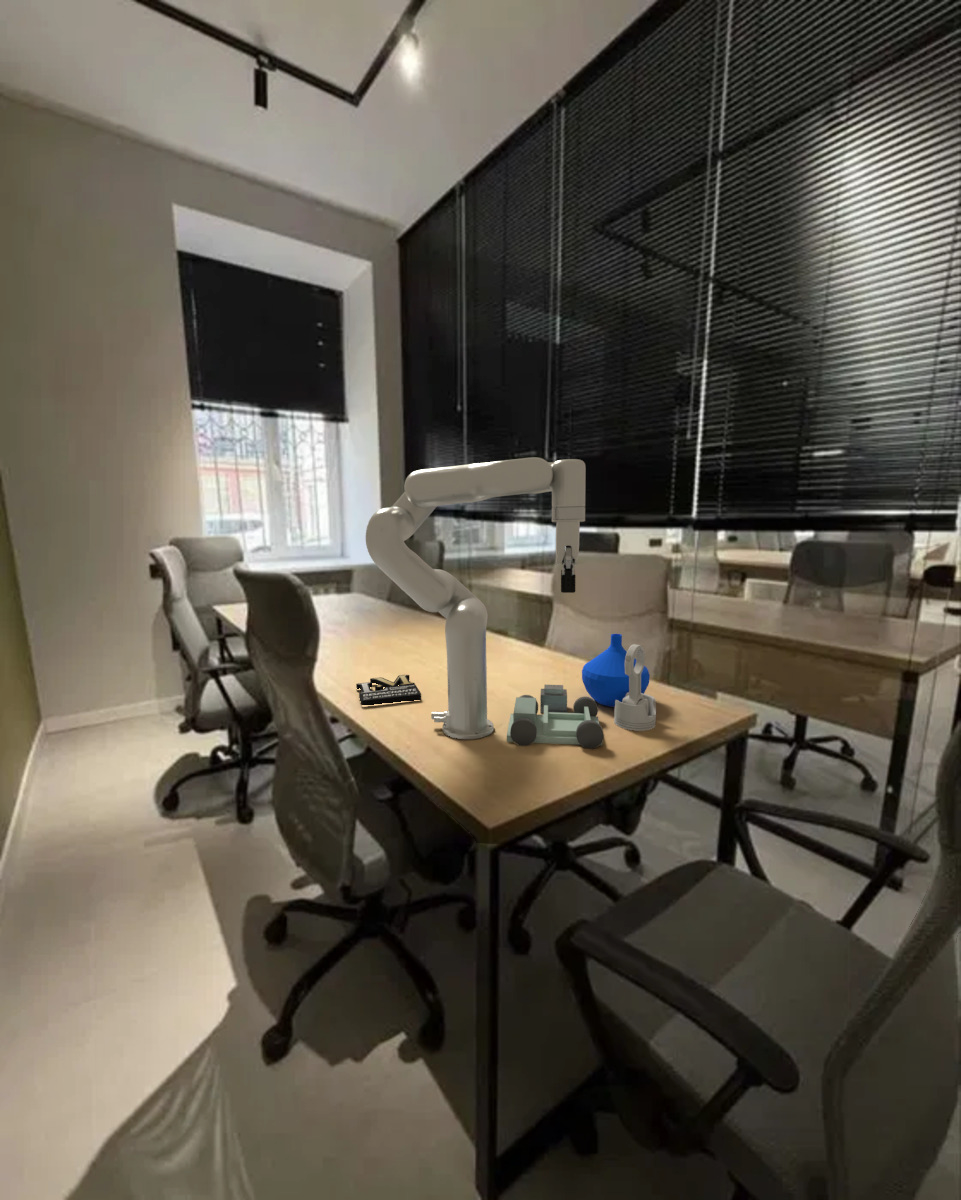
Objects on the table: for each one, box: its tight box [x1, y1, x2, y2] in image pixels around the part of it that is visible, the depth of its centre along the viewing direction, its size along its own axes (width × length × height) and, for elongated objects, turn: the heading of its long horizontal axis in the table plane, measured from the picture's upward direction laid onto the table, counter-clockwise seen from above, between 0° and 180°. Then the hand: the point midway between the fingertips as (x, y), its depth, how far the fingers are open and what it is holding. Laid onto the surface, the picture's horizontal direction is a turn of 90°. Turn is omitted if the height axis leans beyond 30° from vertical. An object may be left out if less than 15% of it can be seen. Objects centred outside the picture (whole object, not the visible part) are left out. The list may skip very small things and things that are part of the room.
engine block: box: [539, 684, 568, 714], centre depth 148 cm, size 7×6×6 cm
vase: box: [581, 633, 650, 708], centre depth 153 cm, size 18×18×19 cm
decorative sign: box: [355, 674, 422, 706], centre depth 164 cm, size 17×2×20 cm
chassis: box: [506, 694, 605, 749], centre depth 134 cm, size 22×18×6 cm
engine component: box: [613, 643, 657, 732], centre depth 137 cm, size 11×20×10 cm
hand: (567, 589), depth 129 cm, fingers open, 9 cm apart
